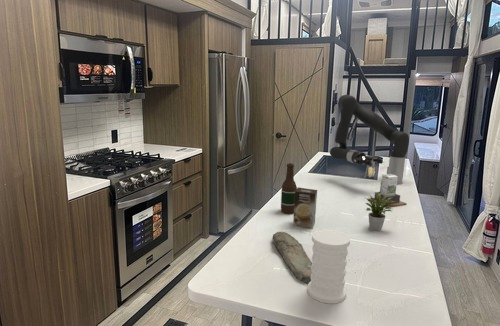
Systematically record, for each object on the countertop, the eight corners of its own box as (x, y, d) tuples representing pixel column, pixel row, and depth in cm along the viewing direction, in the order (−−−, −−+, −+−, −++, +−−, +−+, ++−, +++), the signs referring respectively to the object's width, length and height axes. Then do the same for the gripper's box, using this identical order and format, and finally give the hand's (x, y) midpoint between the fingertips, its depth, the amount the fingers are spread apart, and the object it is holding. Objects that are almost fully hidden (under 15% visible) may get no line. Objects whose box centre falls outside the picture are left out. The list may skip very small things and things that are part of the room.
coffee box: (292, 225, 157) (294, 191, 154) (295, 220, 163) (297, 187, 160) (313, 228, 154) (315, 193, 151) (315, 223, 160) (317, 189, 157)
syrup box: (387, 199, 195) (390, 173, 192) (394, 202, 189) (398, 176, 186) (378, 199, 193) (381, 173, 190) (385, 203, 188) (389, 176, 184)
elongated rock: (294, 289, 111) (324, 288, 113) (296, 274, 110) (326, 273, 112) (266, 237, 144) (290, 236, 146) (268, 225, 143) (291, 225, 145)
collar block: (367, 201, 195) (368, 191, 194) (386, 198, 201) (387, 189, 200) (386, 209, 183) (387, 199, 182) (406, 206, 189) (407, 196, 187)
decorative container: (317, 277, 116) (321, 225, 112) (352, 290, 109) (357, 235, 105) (300, 294, 106) (303, 238, 102) (337, 308, 100) (342, 249, 96)
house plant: (374, 238, 146) (378, 200, 143) (350, 226, 158) (354, 191, 155) (398, 232, 153) (403, 196, 149) (374, 221, 165) (377, 187, 161)
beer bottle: (298, 210, 177) (300, 163, 171) (293, 215, 170) (295, 166, 164) (283, 207, 180) (285, 161, 174) (277, 212, 173) (279, 164, 167)
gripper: (346, 152, 207) (366, 157, 193) (365, 149, 213) (386, 154, 199) (346, 164, 209) (365, 170, 195) (365, 162, 215) (385, 167, 201)
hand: (376, 162), depth 197 cm, fingers open, 8 cm apart
